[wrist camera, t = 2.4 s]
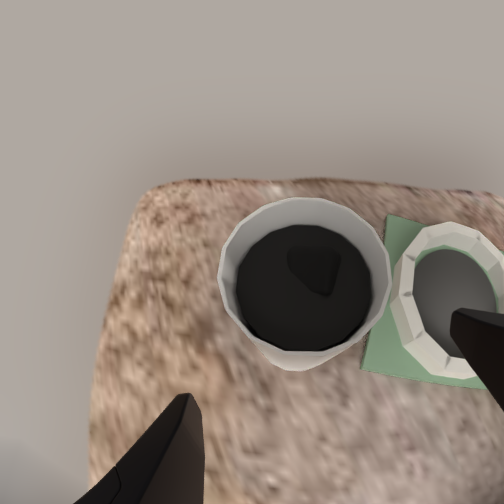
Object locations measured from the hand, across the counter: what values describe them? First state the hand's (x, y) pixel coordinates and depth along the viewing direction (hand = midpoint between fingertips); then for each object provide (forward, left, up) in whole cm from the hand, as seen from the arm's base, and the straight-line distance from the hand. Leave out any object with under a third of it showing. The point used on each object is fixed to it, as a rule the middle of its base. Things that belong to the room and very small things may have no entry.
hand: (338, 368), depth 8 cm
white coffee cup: (+2, -3, -11) cm, 12 cm away
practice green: (-14, -8, -11) cm, 19 cm away
